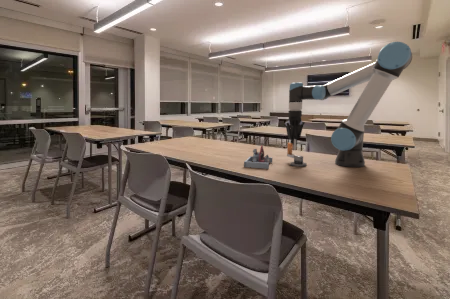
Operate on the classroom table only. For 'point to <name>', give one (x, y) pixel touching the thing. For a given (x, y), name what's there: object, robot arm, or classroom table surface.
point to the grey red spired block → (260, 156)
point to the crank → (296, 158)
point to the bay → (256, 163)
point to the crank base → (298, 164)
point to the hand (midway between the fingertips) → (293, 149)
